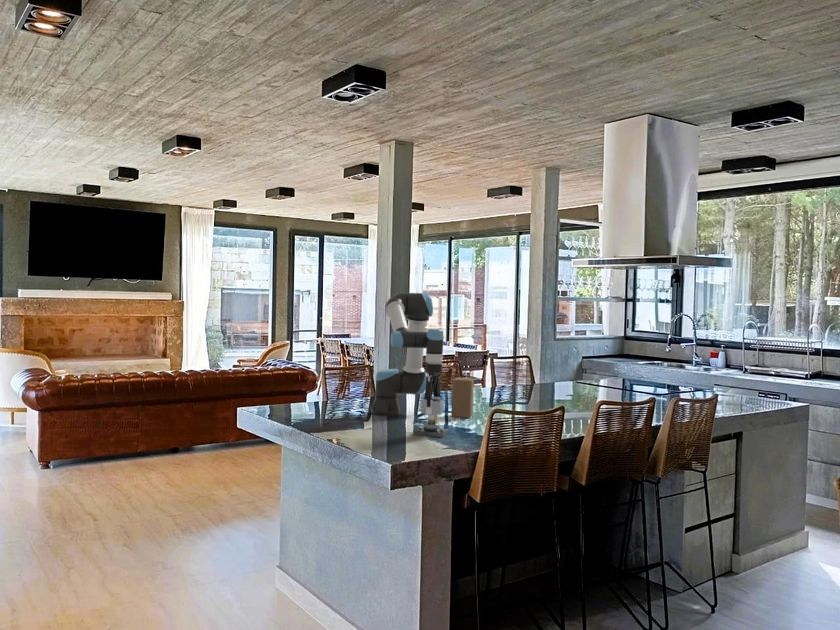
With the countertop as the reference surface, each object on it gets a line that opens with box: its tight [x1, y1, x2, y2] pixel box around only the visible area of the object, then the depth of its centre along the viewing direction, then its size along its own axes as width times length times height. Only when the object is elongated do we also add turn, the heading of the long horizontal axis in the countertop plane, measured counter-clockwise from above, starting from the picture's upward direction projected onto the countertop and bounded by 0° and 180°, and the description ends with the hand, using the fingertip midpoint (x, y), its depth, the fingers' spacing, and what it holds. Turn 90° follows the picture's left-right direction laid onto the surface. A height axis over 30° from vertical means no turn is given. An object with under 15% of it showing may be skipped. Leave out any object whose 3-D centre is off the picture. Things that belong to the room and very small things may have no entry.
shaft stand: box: [412, 414, 450, 439], centre depth 321 cm, size 14×10×11 cm
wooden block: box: [451, 377, 475, 419], centre depth 373 cm, size 10×10×20 cm
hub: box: [420, 397, 444, 416], centre depth 321 cm, size 9×9×6 cm
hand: (432, 412), depth 321 cm, fingers closed on hub, 9 cm apart
